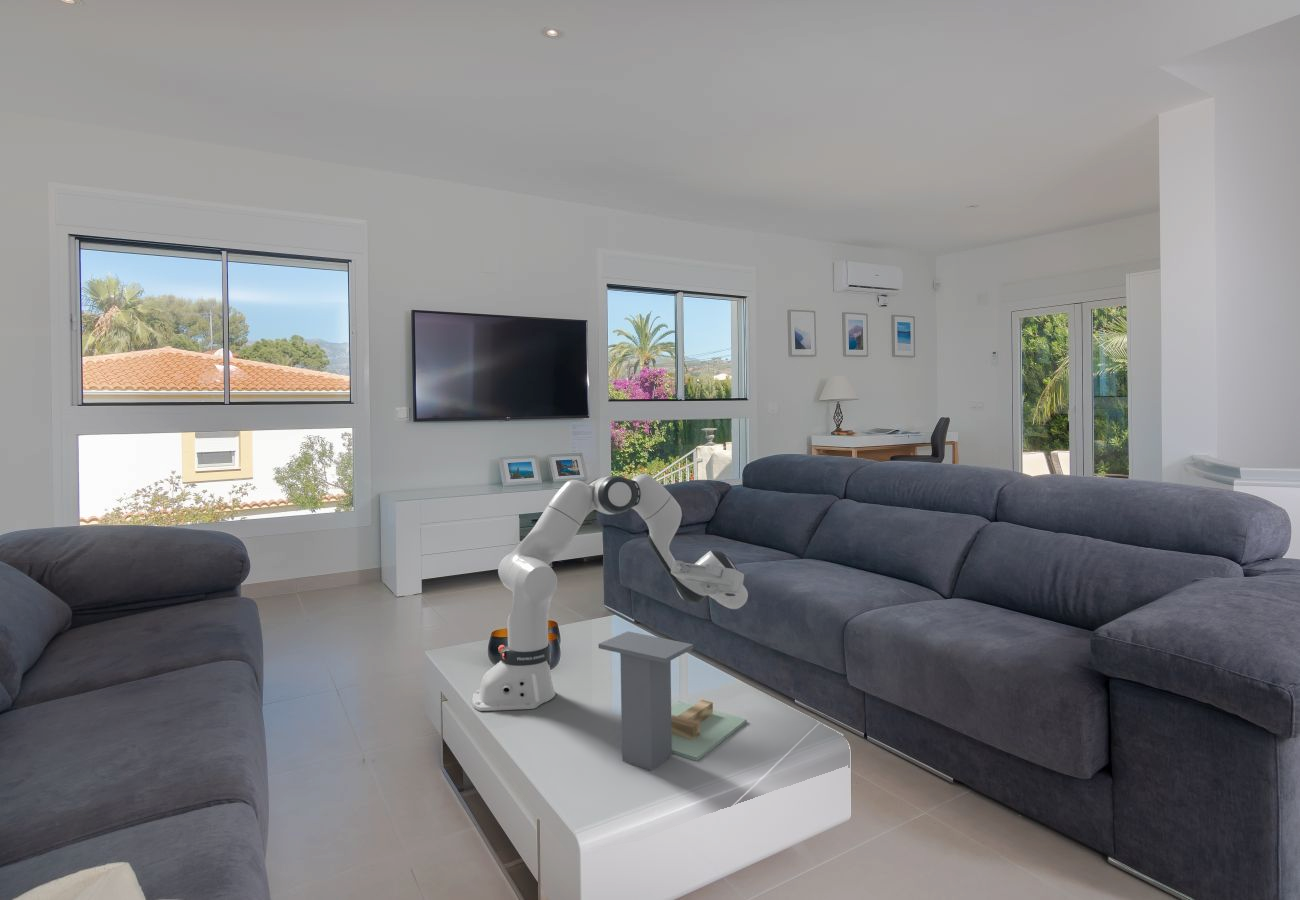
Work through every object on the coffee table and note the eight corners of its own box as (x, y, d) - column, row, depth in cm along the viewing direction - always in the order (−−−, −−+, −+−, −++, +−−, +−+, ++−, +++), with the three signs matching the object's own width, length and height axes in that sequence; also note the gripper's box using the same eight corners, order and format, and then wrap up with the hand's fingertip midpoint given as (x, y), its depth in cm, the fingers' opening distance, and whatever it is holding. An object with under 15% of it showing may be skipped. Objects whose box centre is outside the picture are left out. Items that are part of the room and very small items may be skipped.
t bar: (691, 708, 183) (691, 696, 183) (724, 717, 177) (724, 705, 177) (658, 729, 171) (658, 717, 171) (693, 739, 165) (693, 727, 165)
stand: (629, 738, 168) (627, 631, 167) (694, 759, 158) (692, 644, 156) (600, 757, 159) (598, 643, 158) (666, 780, 149) (665, 658, 147)
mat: (679, 704, 188) (679, 701, 188) (746, 722, 176) (746, 718, 176) (625, 738, 168) (625, 735, 168) (696, 761, 157) (696, 757, 157)
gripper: (687, 567, 208) (664, 550, 198) (749, 575, 196) (728, 557, 186) (681, 587, 206) (658, 571, 196) (744, 596, 194) (722, 580, 184)
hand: (693, 565), depth 191 cm, fingers open, 8 cm apart
